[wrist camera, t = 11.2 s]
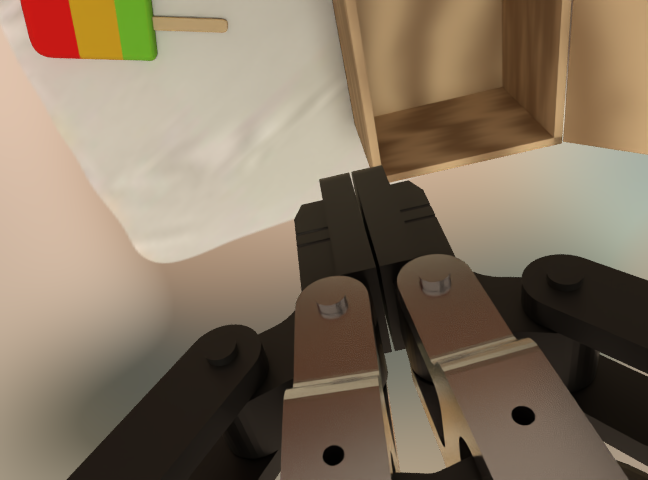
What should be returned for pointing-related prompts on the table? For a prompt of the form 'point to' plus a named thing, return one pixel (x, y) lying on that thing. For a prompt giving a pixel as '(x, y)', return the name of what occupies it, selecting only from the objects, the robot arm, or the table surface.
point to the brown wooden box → (453, 79)
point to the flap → (608, 75)
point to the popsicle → (103, 28)
